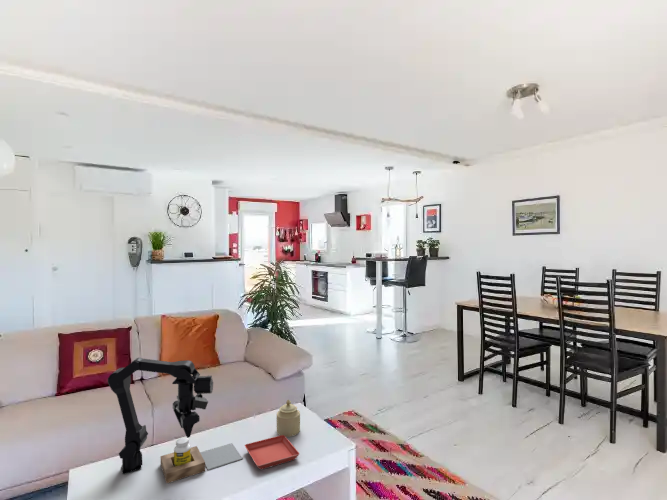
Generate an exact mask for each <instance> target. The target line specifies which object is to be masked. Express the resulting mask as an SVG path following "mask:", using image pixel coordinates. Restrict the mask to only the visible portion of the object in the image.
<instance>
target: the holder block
mask: <svg viewBox="0 0 667 500" xmlns="http://www.w3.org/2000/svg"><path fill="white" fill-rule="evenodd" d="M200 452H201V451H200V449H199V448H198V445H196V446H192V447H191V462H189V463H186V464H183V465H179V466H176V467H174V452H171V453H167V454H164V455H160V457H159V458H160V467H161V470H162V473H163V478H164V480H165V483H166V484H168V483H170V484H171V483H172V482H173V483H174V482H176V481H179V480H182V479H185V478H187V477H192V476H194V475H198V474H200V473H201V474H202V473H204V472H206V466H205V461H204V459H203V457H202V455H201V453H200Z"/></svg>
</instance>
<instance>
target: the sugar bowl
mask: <svg viewBox="0 0 667 500" xmlns="http://www.w3.org/2000/svg"><path fill="white" fill-rule="evenodd" d="M300 430H301V412H300V411H299V410H298V407H297V406H296V405H294V404H292V401H291V400H290V399H287V400H286V403H284V404H283V405H282V406H280V407H279V410H278V411H277V412H276V433H277V435H278V436H280V435H284V436H285V437H286V438H289V437H294V436H297V435H298V434H299V433H300Z"/></svg>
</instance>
